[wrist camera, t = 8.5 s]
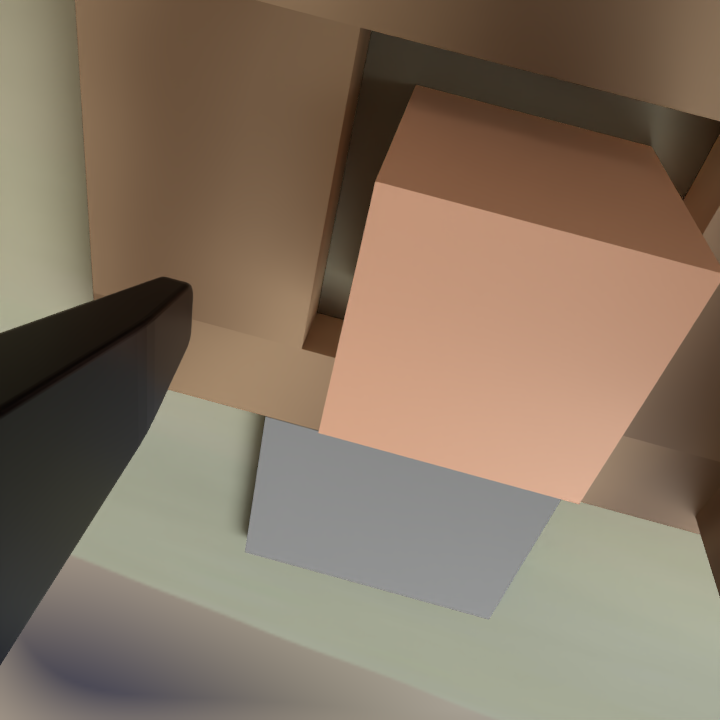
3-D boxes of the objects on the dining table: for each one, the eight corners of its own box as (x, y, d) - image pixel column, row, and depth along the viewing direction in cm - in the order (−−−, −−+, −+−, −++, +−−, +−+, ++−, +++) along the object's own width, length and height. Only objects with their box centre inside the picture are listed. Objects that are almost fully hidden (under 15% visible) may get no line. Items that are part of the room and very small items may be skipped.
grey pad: (561, 483, 17) (562, 497, 17) (489, 605, 21) (488, 619, 20) (270, 404, 17) (265, 416, 17) (249, 539, 21) (244, 552, 21)
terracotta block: (650, 145, 12) (725, 274, 8) (557, 337, 15) (579, 504, 11) (416, 83, 12) (375, 182, 8) (366, 286, 15) (318, 432, 11)
